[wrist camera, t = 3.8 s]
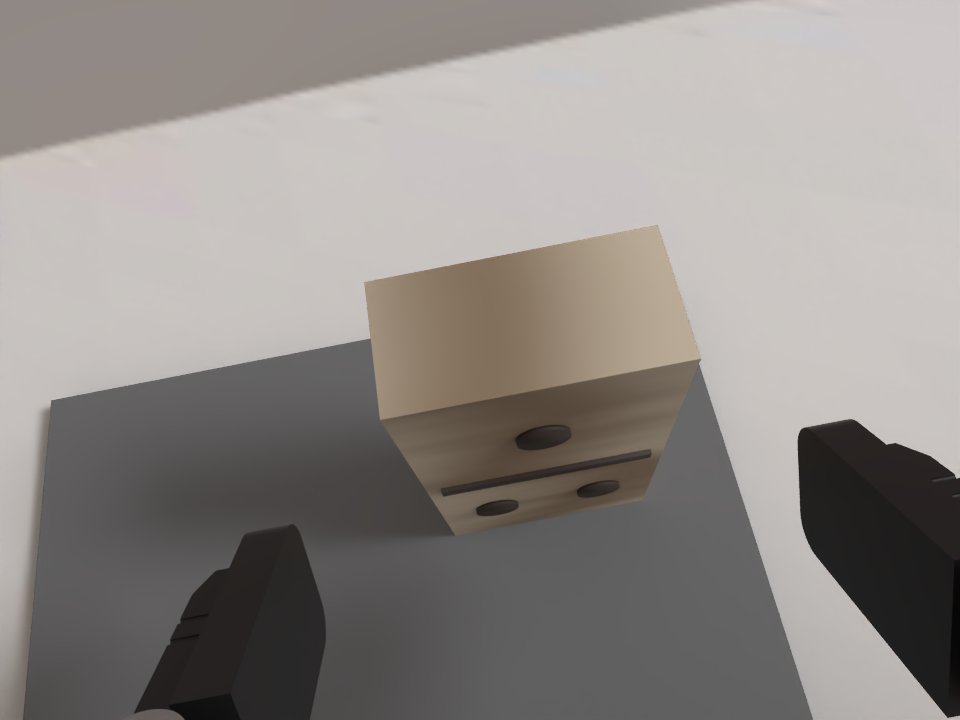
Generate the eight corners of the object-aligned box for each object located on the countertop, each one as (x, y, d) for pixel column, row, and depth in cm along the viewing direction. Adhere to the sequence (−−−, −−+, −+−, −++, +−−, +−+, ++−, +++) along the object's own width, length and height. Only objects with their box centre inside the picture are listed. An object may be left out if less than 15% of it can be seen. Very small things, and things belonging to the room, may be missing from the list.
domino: (619, 412, 21) (657, 224, 12) (643, 504, 19) (702, 364, 11) (442, 446, 21) (364, 282, 13) (456, 539, 20) (380, 425, 11)
